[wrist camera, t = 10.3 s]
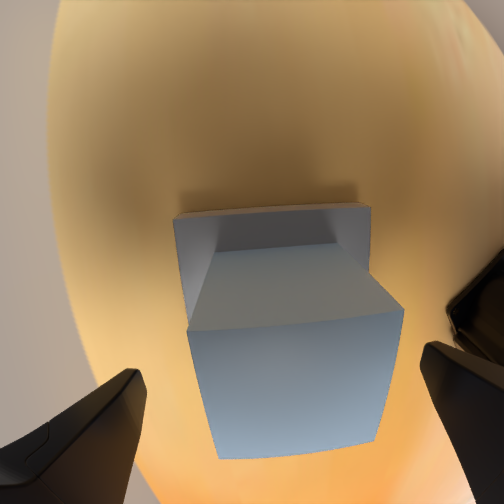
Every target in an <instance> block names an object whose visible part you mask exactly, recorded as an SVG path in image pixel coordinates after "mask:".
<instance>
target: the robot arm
mask: <svg viewBox="0 0 504 504" xmlns="http://www.w3.org/2000/svg"><path fill="white" fill-rule="evenodd" d="M455 309H456V310H455ZM454 310H455V311H454ZM447 316H448V318H449V320H450V323H451V325H452V327H453V330H454V332H455V335H454V338H453V341H454V343H455V346H456V348H454V347H452V346H449V345H447V344H444V343H442V342H439V341H432V342H428V343H426V344H425V346H424V349H423V353H422V357H421V361H420V370H421V373H422V375H423V378H424V380H425V383H426V386H427V388H428V391H429V394H430V397H431V399H432V402H433V404H434V407H435V409H436V411H437V413H438V415H439V417H440V419H441V421H442V423H443V425H444V427H445V430H446V432H447V434H448V436H449V438H450V440H451V443H452V445H453V447H454V449H455V452H456V454H457V456H458V459H459V461H460V463H461V466H462V468H463V470H464V473H465V475H466V478H467V480H468V483H469V485H470V488H471V491H472V493H473V496H474V499H475V500H476V501H475V502H476V504H504V249H503V250H502V251H501V252H500V253H499V255H498V256H497V257H496V258H495V259H494V260H493V261H492V262H491V264H490V265H489V266H488V267H487V268H486V269H485V270H484V271H483V272H482V273H481V274H480V275H479V276H478V277H477V278H476V279H475V280H474V281H473V283H472V284H471V285H470V286H469V287H468V288H467V289H466V290H465V291H463V292H462V293H461V294H460V295H459V296H458V297H457V298H456V299H455V300H454V301H453V302H452V303H451V304H450V305H449V306H448V308H447ZM146 398H147V389H146V386H145V383H144V380H143V377H142V374H141V372H140V370H139V369H133V368H127V369H125V370H123V371H122V372H120V373H119V374H117V375H116V376H115V377H113V378H112V379H110V380H109V381H107V382H106V383H104V384H103V385H101V386H100V387H99V388H97V389H96V390H94V391H93V392H91V393H90V394H88V395H87V396H85V397H84V398H82V399H81V400H79V401H78V402H76V403H75V404H73V405H72V406H71V407H69V408H67V409H66V410H65V411H63V412H61V413H60V414H58V415H57V416H55V417H54V418H53V419H51V420H50V421H49V422H46V423H45V424H43V425H42V426H40V427H39V428H37V429H35V430H34V431H32V432H30V433H29V434H27V435H25V436H24V437H22V438H20V439H18V440H16V441H14V442H12V443H10V444H8V445H6V446H4V447H3V448H0V504H123V502H124V498H125V494H126V489H127V485H128V481H129V477H130V473H131V469H132V466H133V462H134V458H135V454H136V451H137V447H138V443H139V439H140V435H141V430H142V423H143V417H144V410H145V404H146Z"/></svg>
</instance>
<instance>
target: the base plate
mask: <svg viewBox="0 0 504 504" xmlns="http://www.w3.org/2000/svg"><path fill="white" fill-rule="evenodd" d="M173 225H174V233H175V241H176V248H177V255H178V262H179V269H180V276H181V282H182V288H183V294H184V300H185V306H186V312H187V318H188V323H190V320H191V317H192V314H193V311H194V308H195V305H196V302H197V299H198V297H199V294H200V291H201V288H202V285H203V282H204V280H205V277H206V274H207V271H208V268H209V266H210V263H211V260H212V257H213V255H214V253H215V252H228V251H240V250H253V249H265V248H278V247H290V246H303V245H316V244H329V243H338V244H339V245H340V246H341V247H342V248H343V249H344V250H345V251H347V252H348V253H349V254H350V255H351V256H352V257H353V258H354V259H355V260H356V261H357V262H358V263H359V264H360V265H361V266H362V267H363V268H364V269H365V270H366V271H367V272H368V273H369V257H370V230H371V207H369V206H367V205H364V204H362V203H359V202H350V203H323V204H302V205H284V206H267V207H252V208H238V209H225V210H212V211H201V212H189V213H181V214H179V215H178V216H177V217H175V218H174V219H173Z"/></svg>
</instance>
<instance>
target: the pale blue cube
mask: <svg viewBox="0 0 504 504" xmlns="http://www.w3.org/2000/svg"><path fill="white" fill-rule="evenodd" d="M403 316H404V308H403V307H402V306H401V305H400V304H399V303H398V302H397V301H396V300H395V299H394V298H393V297H392V296H391V295H390V294H389V293H388V292H387V291H386V290H385V289H384V288H383V287H382V286H381V285H380V284H379V283H378V282H377V281H376V280H375V279H374V278H373V277H372V276H371V275H370V274H369V273H368V272H367V271H366V270H365V269H364V268H363V267H362V266H361V265H360V264H359V263H358V262H357V261H356V260H355V259H354V258H353V257H352V256H351V255H350V254H349V253H348V252H347V251H345V250H344V249H343V248H342V247H341V246H340V245H339V244H338V243H329V244H316V245H303V246H290V247H278V248H265V249H253V250H240V251H228V252H215V253H214V255H213V257H212V260H211V263H210V266H209V268H208V271H207V274H206V277H205V280H204V282H203V285H202V288H201V291H200V294H199V297H198V299H197V302H196V305H195V308H194V311H193V314H192V317H191V320H190V323H189V326H188V328H187V336H188V341H189V345H190V350H191V355H192V359H193V363H194V368H195V372H196V376H197V380H198V384H199V389H200V393H201V397H202V400H203V404H204V408H205V412H206V416H207V419H208V423H209V427H210V430H211V434H212V437H213V441H214V444H215V448H216V451H217V454H218V458H219V459H253V458H269V457H281V456H291V455H300V454H307V453H315V452H321V451H327V450H333V449H339V448H344V447H349V446H354V445H359V444H363V443H368V442H372V441H374V440H375V436H376V433H377V430H378V427H379V424H380V420H381V417H382V413H383V410H384V406H385V402H386V399H387V395H388V391H389V387H390V383H391V379H392V374H393V370H394V365H395V361H396V356H397V351H398V346H399V340H400V335H401V329H402V323H403Z"/></svg>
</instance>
